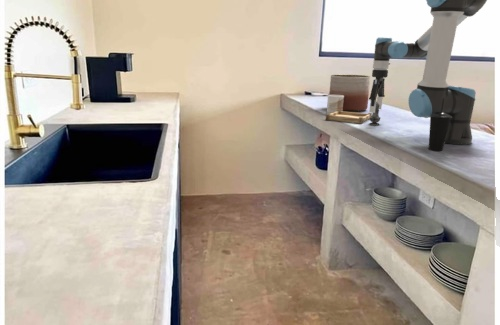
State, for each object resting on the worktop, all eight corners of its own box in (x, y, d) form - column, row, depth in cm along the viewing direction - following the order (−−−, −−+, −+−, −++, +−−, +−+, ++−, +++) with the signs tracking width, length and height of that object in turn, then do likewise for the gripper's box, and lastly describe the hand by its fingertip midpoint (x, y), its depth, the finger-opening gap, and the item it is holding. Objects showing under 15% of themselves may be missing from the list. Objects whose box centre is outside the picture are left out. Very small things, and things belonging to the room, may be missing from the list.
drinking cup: (423, 150, 144) (430, 98, 138) (426, 146, 150) (434, 96, 144) (444, 153, 140) (453, 100, 134) (447, 149, 146) (456, 98, 140)
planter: (361, 113, 231) (364, 77, 224) (322, 110, 243) (324, 75, 237) (371, 108, 252) (374, 75, 245) (335, 105, 264) (337, 74, 258)
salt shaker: (379, 125, 193) (382, 102, 189) (368, 124, 195) (370, 101, 191) (380, 123, 198) (383, 101, 194) (369, 122, 200) (371, 100, 196)
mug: (322, 113, 231) (323, 95, 228) (334, 111, 238) (335, 93, 235) (336, 115, 223) (338, 96, 220) (347, 113, 231) (349, 95, 228)
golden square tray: (361, 123, 197) (362, 117, 196) (325, 119, 207) (326, 114, 206) (371, 118, 213) (371, 113, 212) (337, 115, 223) (338, 109, 222)
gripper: (382, 70, 176) (376, 114, 183) (393, 68, 196) (388, 108, 203) (366, 69, 180) (361, 113, 186) (378, 68, 200) (374, 107, 207)
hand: (375, 110), depth 195 cm, fingers open, 13 cm apart
